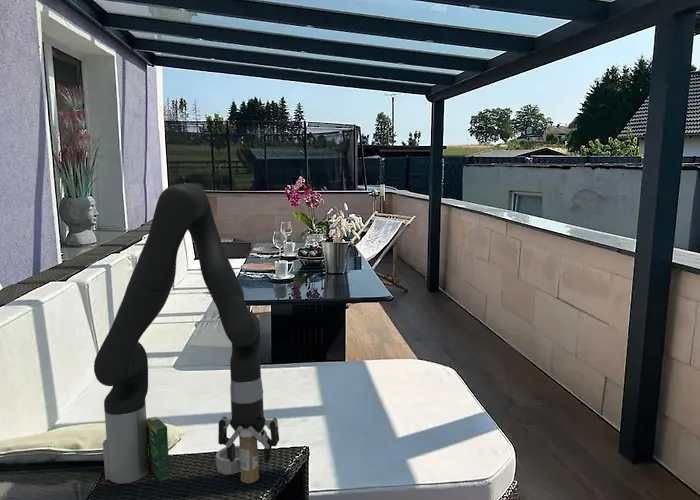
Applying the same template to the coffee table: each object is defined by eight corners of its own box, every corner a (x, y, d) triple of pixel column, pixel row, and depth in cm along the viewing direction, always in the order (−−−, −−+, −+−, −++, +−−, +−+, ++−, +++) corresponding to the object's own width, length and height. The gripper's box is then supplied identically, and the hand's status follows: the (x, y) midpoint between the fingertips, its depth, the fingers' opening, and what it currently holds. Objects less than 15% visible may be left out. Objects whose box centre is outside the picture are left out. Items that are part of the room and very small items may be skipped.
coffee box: (148, 468, 130) (145, 418, 128) (159, 464, 132) (157, 415, 130) (158, 482, 123) (155, 429, 122) (170, 477, 125) (167, 426, 124)
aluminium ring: (212, 474, 127) (211, 460, 126) (223, 457, 134) (222, 445, 134) (243, 475, 126) (242, 461, 126) (252, 459, 134) (251, 446, 133)
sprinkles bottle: (262, 480, 124) (260, 426, 122) (244, 486, 121) (242, 431, 120) (254, 471, 127) (252, 419, 126) (237, 477, 125) (235, 424, 124)
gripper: (211, 401, 119) (215, 468, 121) (272, 402, 117) (274, 470, 119) (223, 389, 126) (226, 452, 128) (280, 390, 125) (282, 454, 127)
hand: (249, 460), depth 124 cm, fingers open, 8 cm apart
